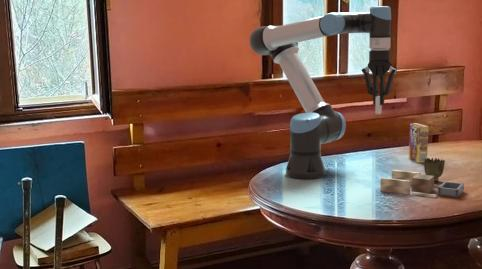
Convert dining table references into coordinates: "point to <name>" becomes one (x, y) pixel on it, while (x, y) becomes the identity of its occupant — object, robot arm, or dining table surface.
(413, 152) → the candy box
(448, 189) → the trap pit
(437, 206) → the dining table surface
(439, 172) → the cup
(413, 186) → the block
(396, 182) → the twin plank rail frame
